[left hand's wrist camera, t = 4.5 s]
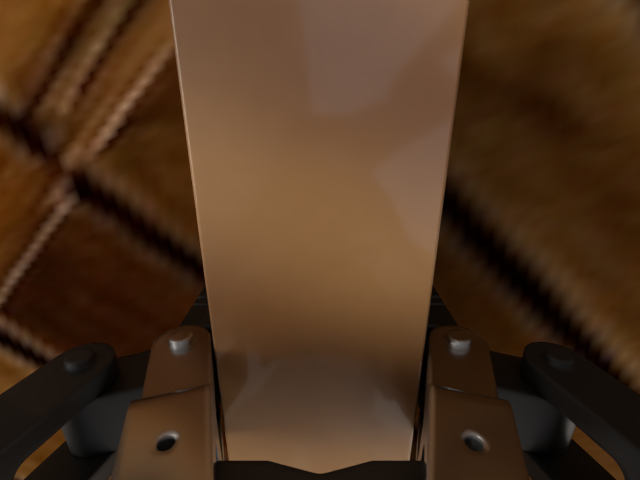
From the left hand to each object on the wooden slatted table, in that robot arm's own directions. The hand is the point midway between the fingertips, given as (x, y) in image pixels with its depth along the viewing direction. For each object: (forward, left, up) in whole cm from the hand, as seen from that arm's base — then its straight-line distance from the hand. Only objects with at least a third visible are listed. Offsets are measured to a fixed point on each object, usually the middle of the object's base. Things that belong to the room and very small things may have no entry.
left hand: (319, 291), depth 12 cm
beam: (+12, +13, -2) cm, 18 cm away
